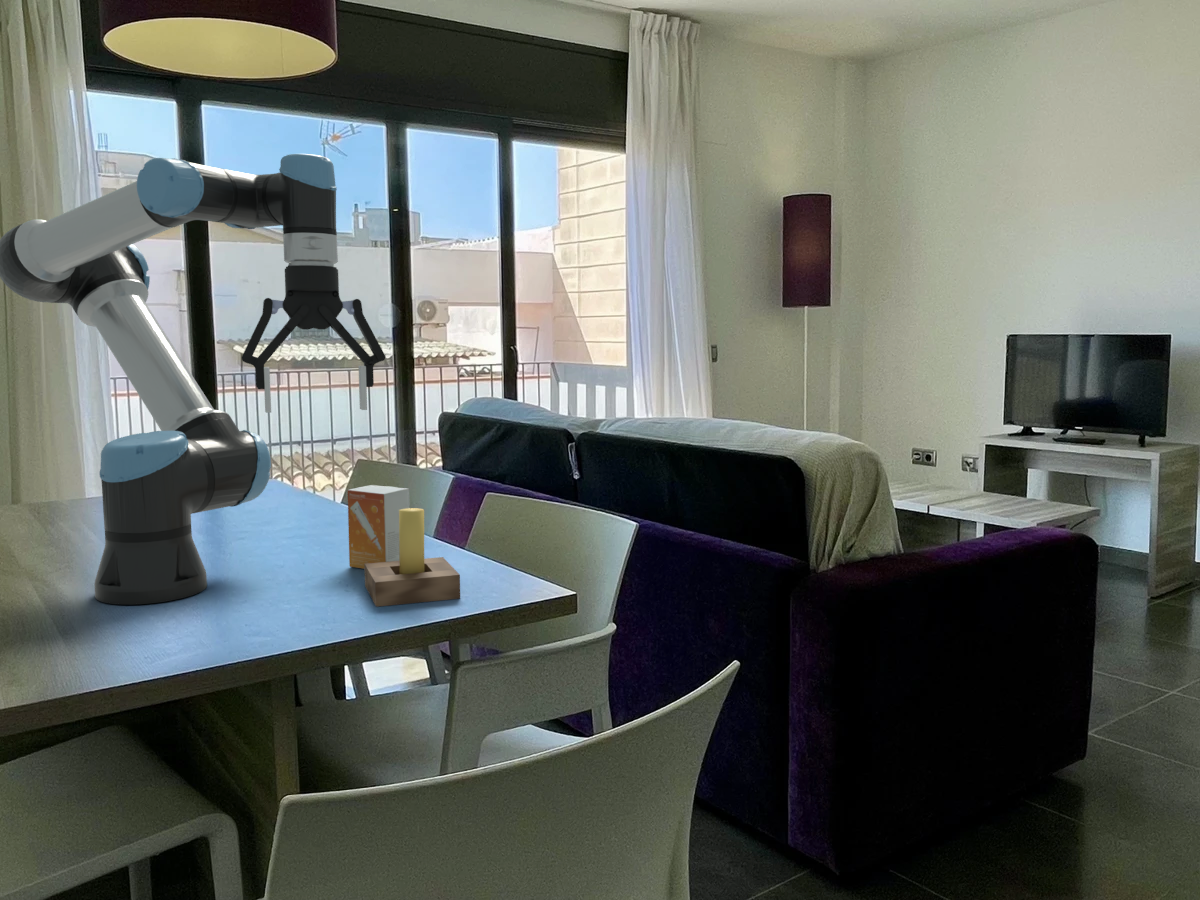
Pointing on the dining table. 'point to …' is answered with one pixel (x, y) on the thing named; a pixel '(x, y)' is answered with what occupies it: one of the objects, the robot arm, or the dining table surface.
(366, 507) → the small box
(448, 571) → the socket block
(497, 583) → the dining table surface
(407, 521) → the peg
